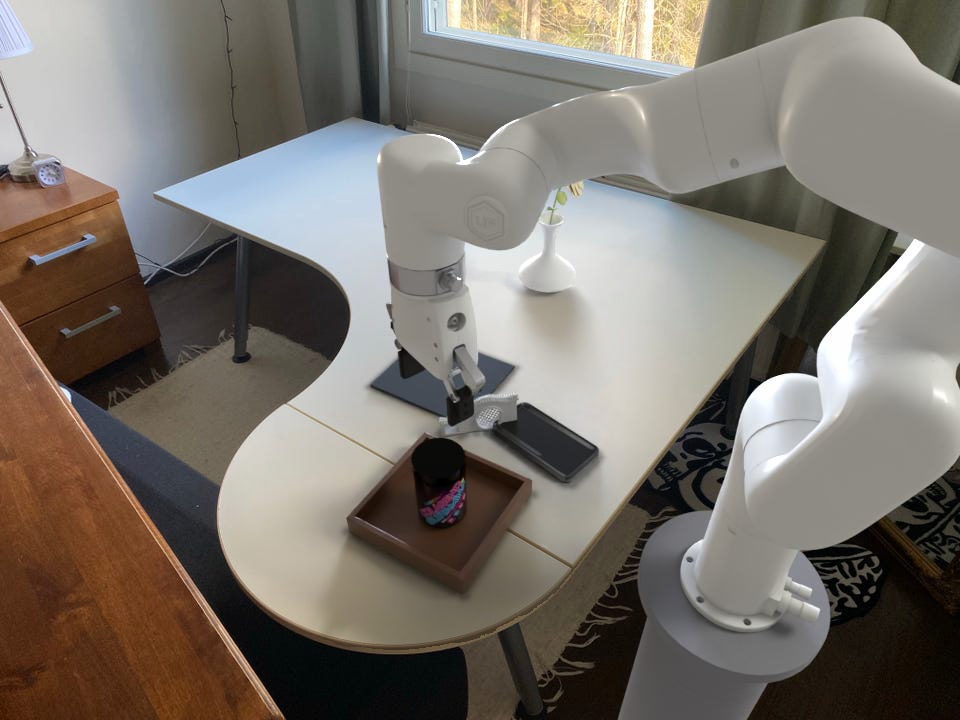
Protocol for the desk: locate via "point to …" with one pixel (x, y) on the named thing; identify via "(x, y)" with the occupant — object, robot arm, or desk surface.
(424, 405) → the mat
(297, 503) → the desk surface
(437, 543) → the tray
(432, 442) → the supplement container
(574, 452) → the phone
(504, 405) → the garden wall model
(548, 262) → the flower in vase
